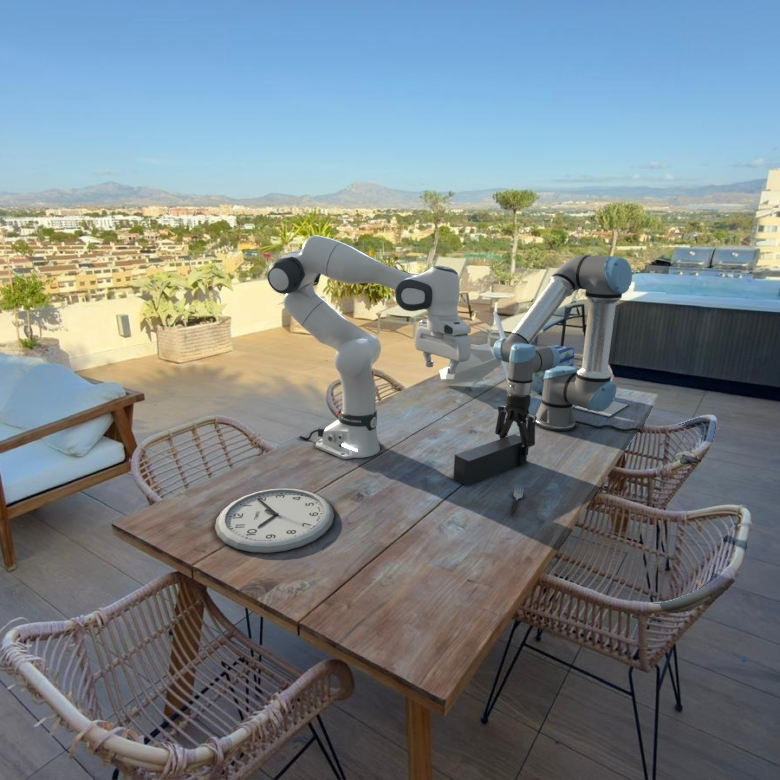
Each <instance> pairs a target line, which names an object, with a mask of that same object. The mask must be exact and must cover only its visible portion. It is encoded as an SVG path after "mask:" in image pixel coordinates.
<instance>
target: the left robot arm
mask: <svg viewBox="0 0 780 780" xmlns="http://www.w3.org/2000/svg"><path fill="white" fill-rule="evenodd" d="M321 276H324V277H326V278H329V279H331V280H333V281H336V282H340V283H343V284H347V285H357V284H358V285H359V284H376V285H381V286H383V287H385V288H388V289H391V290H393V291H394V293H395V294H394V296H395V297H394V298H395V301H396V303H397V305H398V306H399V307H400V308H401V309H402V310H405V311H406V312H407V311H408V312H417V311H423V310H425V311H427V316H426V319H421V320H419V322H418V323H417V328H416V330H415V331H416V332H415V336H414V348H415V350H416V351H420V352H422V353H423V354H422V355H423V358H424V361H425V367H427V368H433V367H434V360H433V359H432V356H431V355H434V356H438V357H440V358H443V359H448V360H450V359H451V362H450V363H452V364H451V366H450V367H449V368H448V373H449V374H455V369H456V367H457V365H458V364H459V362H463V361H467V360H468V359H469V358H470V351H471V347H472V342H471V341H472V339H471V337H470V335H469V334H471V332H472V327H471V326H470V325H469V324H468V323H467V322H465V321H464V320H462V319H461V318H460V317H459V309H458V304H459V301H460V276H459V274H458V272H457V271H456V270H455V269H454V268H452V267H449V266H443V265H433V266H432V267H430V268H429V269H427V270H426V271H424V272H422V273H410V272H406V271H404V270H402V269H399V268H396V267H393V266H391V265H388V264H385V263H383V262H381V261H379V260H377V259H375V258H373V257H371V256H369V255H367V254H366V253H364V252H362V251H360V250H358V249H356V248H355V247H353V246H350V245H348V244H347V243H344V242H341V241H340V240H336V239H333V238H331V237H328V236H327V237H326V236H321V235H311V236H309V237H308V238H306V239H305V240H304V242H303V244H302V246H301V248H300V247H299V248H298V249H296V250H293V251H291V252H287V253H286V254H285V255H283V256H281V257H279V258H278V259H276V260H274V261H273V262H272V263H271V264H270V265H269V267H268V269H267V272H266V278H267V281H268V284H269V286H270V287H271V288H272V290H274V291H275V292H276V293H278V294H281V295H284V297H283V299H282V300H283V301H282V302H283V306H284V308H285V310H286V311H287V312H288V313H289V315H291V317H292V318H293V319H294V320H295V321H296V322H297V323H298V324H299V325H300V326H301V327H302V328H303V329H304V330H305V331H307V332H308V333H309V334H310V335H311V336H313V337H314V338H315V340H316V341H318V342H319V343H321V344H322V345H325V346H328V347H331V348H332V349H334V350H335V351H336V353H335V355H334V359H333V360H334V361H333V362H334V366H335V368H336V370H337V372H338V375H339V380H340V385H341V393H342V394H341V396H342V397H341V398H342V402H341V403H342V408H341V409H339V410H338V411H336V412H335V413H336V414H335V416H338V418H337V419H336V420H334V421H333V422H331V423H330V424H328V423H324V424H322V425H321V426H320V427H319V428H317V429H314V430H312V431H311V432H310V433H309V435H308V437H304V436H302V435H299V439H301V440H306V441H308V440H310V439H311V438H312V436H313V434H315V433H317V437H318V438H319V437H320V439H319V440H317V441H316V443H315V448H317V449H318V450H321V451H323V452H326V453H328V454H331V455H332V456H335V457H338V458H340V459H342V460H349V459H360V458H361V459H362V458H368V457H369V458H370V457H372V456H375V455H377V454H378V453H379V452H380V451H381V448H380V443H379V439H378V433H377V424H378V411H377V407H376V405H377V403H376V401H377V400H376V399H377V398H376V397H377V394H376V393H377V389H376V386H375V384H374V379H373V378H374V377H373V371H372V370H373V365H374V364H375V363H376V362H377V361H378V360H379V358H380V355H381V352H382V344H381V341H380V339H379V338H378V337H377V336H375V335H374V334H371V333H369V332H367V331H365V330H364V329H362V327H360V326H358V325H356V324H355V323H353V322H351V320H350V321H349V320H348V319H347V318H346V317H344V316H342V314H340V312H338V310H336V309H335V308H334V307H333V306H331V305H330V304H329V302H327V301H326V300H324V299H323V298H322V297H321V296H320V295H319V294H318V293H317V292H316V291H315V287H316V286H317V285H318V284H319V283H320V278H321Z"/></svg>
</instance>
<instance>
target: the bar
mask: <svg viewBox="0 0 780 780" xmlns="http://www.w3.org/2000/svg"><path fill="white" fill-rule="evenodd" d="M520 446H522V442H521V437H520V435H518V434H511V435H508V436H506V437H505V438H502V439H500V438H499V439H497V440H493V441H490V442H487V443H485V444H482V445H479V446H476V447H474V448H470V449H467V450H463V451H462V452H459V453H456V454H454V461H453V476H452V477H453V479H454V480H455V481H457V482H459V483H461V484H463V485H465V486H470V485H472V484H475V483H478V482H480V481H483V480H486V479H487V478H490V477H492V476H495V475H497V474H500V473H502V472H504V471H507V470H510V469H512V468H515V467H518V466H519V465H518V460H519V450H520ZM527 459H528V455H527V456H526V461H525V463H527Z"/></svg>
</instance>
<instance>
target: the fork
mask: <svg viewBox="0 0 780 780" xmlns="http://www.w3.org/2000/svg"><path fill="white" fill-rule="evenodd" d="M517 485H518V486H517ZM517 485H515V487H514V491H513V494H512V496H513V498H514V499H515V500H514V502H513V504H512V511H511V517H514V515H515V512H516V510H517V508H518V500H520V499H522V498H524V497H523V496H524V488H525V487H524V486H525V485H522V486H520V487H519V485H520V484H517Z"/></svg>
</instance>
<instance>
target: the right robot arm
mask: <svg viewBox="0 0 780 780" xmlns="http://www.w3.org/2000/svg"><path fill="white" fill-rule="evenodd" d="M632 281H633V272H632V267H631V264H630V263H629V261H628V260H627V259H626V258H624V257H618V256H614V255H590V254H581V255H578V256H574V257H572V258H571V259H569V260H568V261H566V262H565V263H563V264H562V265H561V266H559V267H558V268H557V269H556V270H555V271H554V273H553V274H552V275H551V276H550V277H549V278H548V285H547V286H546V287H545V288H544V290H543V291H542V292H541V294H540V295H539V297H538V298H537V299H536V300H535V302H534V303H533V305H531V307H530V308H529V310H528V311H527V312H526V314H525V315H524V316H523V318H522V319H521V320H520V321H519V322H518V324H517V325H516V326H515V328H514V329H513V330H512V332H511V333H510V334H509V335H508V337H506V338H499V339H497V340H496V341H495V342H494V345H493V347H492V350H493V354H494V356H495V357H496V358H497V359H499V360H502V361H504V362H507V363H508V368H509V374H508V383H507V382H506V383H507V384H506V395H505V404H504V405H500V406H498V407H497V412H498V414H497V419H496V425H495V430H494V434H495V435H498V437H499V439H502V438H505V437H508V436H509V435H508V434H509V432H510V429H511V428H512V425H513V423H514V422H515V423H516V426H517V427H518V432H519V436H520V437H521V442H522V446H520V450H519V460H518V465H517V466H522V465H525V464H526V462H527V459H526V456H527V457H528V455H529V449H530V448H531V447H533V446H535V445H536V426H537V427H539V428H542V429H544V430H549V431H556V432H567V431H572V430H574V429H575V428H576V424H577V425H582V426H587V427H591V428H595V429H604V428H608V429H609V428H610V429H613V430H616V431H619V432H625V433H626V432H632V431H633V432H635V431H636V432H638V433H639V434H644V432H643V431H642V429H640V428H637V427H630V428H621V427H617V426H614V425H612V424H602V425H596V424H591V423H588V422H582V421H579V420H578V421H577V420H576V418H575V417H576V416H575V413H574V407H573V406H575V407H576V406H580V407H583V408H586V409H588V410H593V411H597V412H601V411H604V410H605V409H607V408H608V407H609V406H610V404H611V403H612V401H614V400H615V398H616V394H617V386H616V385H617V384H616V383H615V382H614V381H611V379H612V374H611V372H610V371H609V370H608V367H609V359H610V353H611V352H610V351H611V345H612V344H611V343H612V336H613V330H614V323H615V322H614V321H615V315H616V308H617V302H619V301H620V300H621V299H622V298H623V294H626V293H627V292H628V291H629V290H630V286H631V285H632ZM577 290H585V298H586V299H587V300H588V309H587V310H588V311H587V318H586V319H587V320H586V327H585V335H584V347H583V353H582V361H581V362H582V363H581V367H580V368H579V369H578V368H577V367H576V366H573V367H571V366H557V365H558V364H559V362H560V354H559V351H558V350H557V349H556V348H555V347H553V346H554V345H544V346H540V345H539V346H538V345H534V344H532V343H533V342H534V340H535V339H536V338H537V337H538V335H539V334H540V333H541V331H542V330H543V329H544V328H545V326H546V324H547V323H548V322H549V321H550V320H551V318H552V316H553V315H554V314H555V313H556V312H557V310H558V309H559V308H560V306H561V305H562V303H563V302H564V301H565V299H566V298H567V297H570V296H572V295H573V294H574V292H576V291H577ZM545 370H546V371H545ZM540 371H545V375H544V378H543V379H544V382H543V391H542V393H541V402H540V405H539V406H537V407H536V410H537V411H536V413H535V415H532V414H531V413H530V411H529V409H530V406H531V397H532V396H531V394H532V392H533V391H532V379H533V373H536V372H540ZM525 461H526V462H525Z"/></svg>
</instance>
